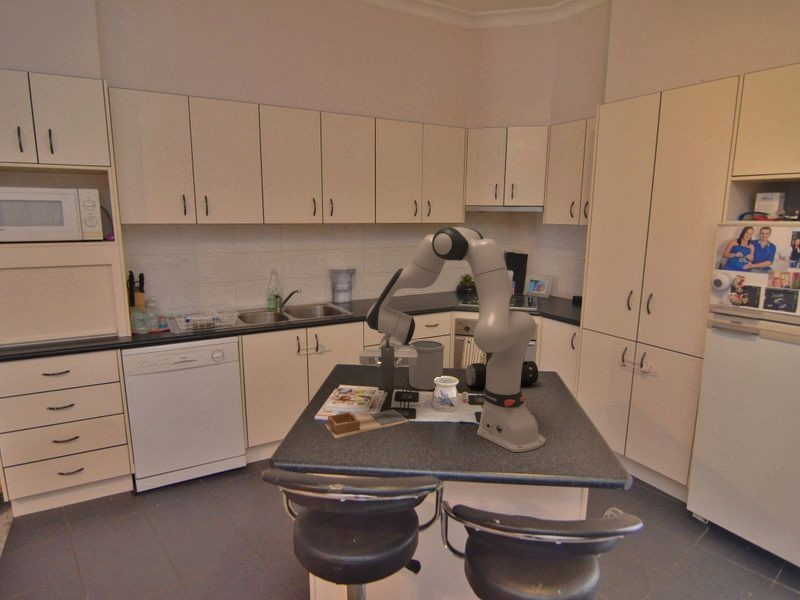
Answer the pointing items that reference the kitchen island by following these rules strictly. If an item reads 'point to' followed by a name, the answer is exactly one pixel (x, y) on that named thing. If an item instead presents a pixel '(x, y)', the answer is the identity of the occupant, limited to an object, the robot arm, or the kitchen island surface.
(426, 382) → the utensil holder
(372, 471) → the kitchen island surface
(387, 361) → the plug
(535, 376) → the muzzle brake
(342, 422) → the cable board
